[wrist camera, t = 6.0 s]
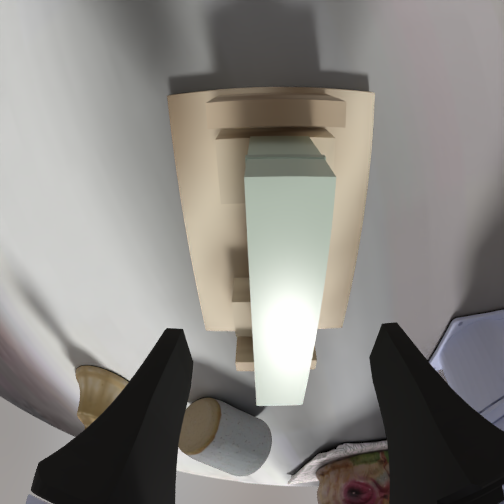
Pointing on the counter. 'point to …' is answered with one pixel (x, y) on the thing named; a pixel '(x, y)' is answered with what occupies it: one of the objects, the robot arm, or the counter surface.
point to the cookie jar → (350, 474)
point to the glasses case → (286, 259)
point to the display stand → (233, 189)
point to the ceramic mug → (224, 437)
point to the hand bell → (96, 391)
